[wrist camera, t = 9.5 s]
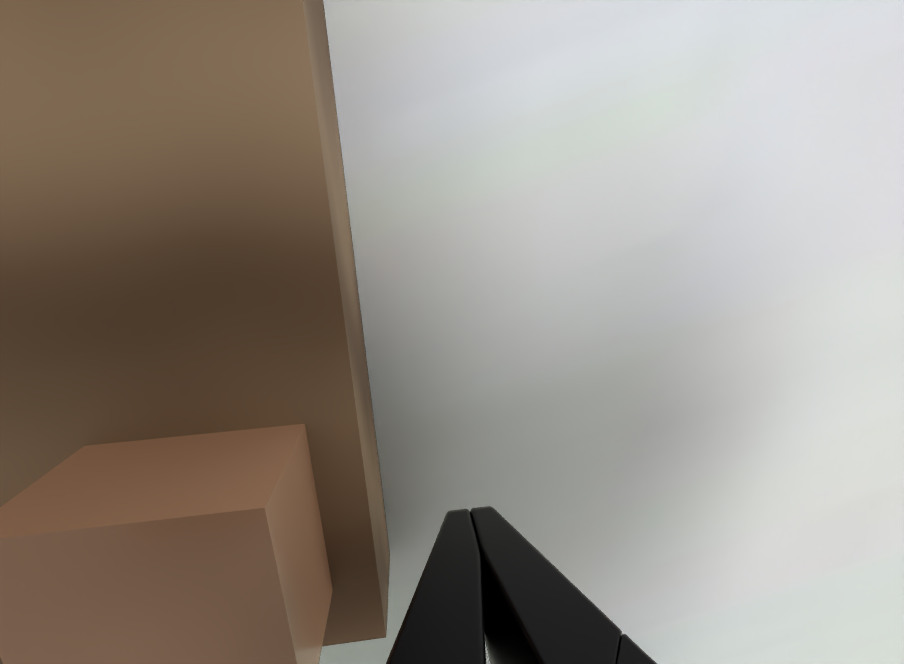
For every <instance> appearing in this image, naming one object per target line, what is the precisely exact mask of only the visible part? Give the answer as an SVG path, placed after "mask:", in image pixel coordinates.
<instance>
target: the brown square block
mask: <svg viewBox="0 0 904 664" xmlns="http://www.w3.org/2000/svg"><path fill="white" fill-rule="evenodd" d="M332 592H333V589H332V583H331V577H330V571H329V565H328V559H327V553H326V547H325V541H324V535H323V529H322V523H321V517H320V511H319V505H318V499H317V493H316V487H315V481H314V475H313V469H312V463H311V457H310V452H309V446H308V440H307V434H306V428H305V424H296V425H286V426H276V427H266V428H257V429H247V430H237V431H227V432H217V433H207V434H197V435H187V436H177V437H167V438H157V439H148V440H138V441H128V442H118V443H108V444H98V445H88V446H84V447H82V448H81V449H79V450H78V451H77V452H75V453H74V454H73V455H71V456H70V457H68V458H67V459H66V460H64V461H63V462H62V463H60V464H59V465H57V466H56V467H55V468H53V469H52V470H51V471H49V472H48V473H46V474H45V475H44V476H42V477H41V478H40V479H38V480H37V481H35V482H34V483H33V484H31V485H30V486H29V487H27V488H26V489H24V490H23V491H22V492H20V493H19V494H18V495H16V496H15V497H13V498H12V499H11V500H9V501H8V502H7V503H5V504H4V505H2V506H1V507H0V658H1V660H2V663H3V664H319V659H320V654H321V649H322V644H323V639H324V633H325V628H326V623H327V618H328V613H329V608H330V602H331V597H332Z"/></svg>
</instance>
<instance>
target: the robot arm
mask: <svg viewBox="0 0 904 664" xmlns="http://www.w3.org/2000/svg"><path fill="white" fill-rule="evenodd" d="M485 641H486V646H487V650H488V654H489V659H490V662H491V664H657V663H656V662H655V661H654V660H652V659H651V658H650V657H649V656H648V655H647V654H646V653H645V652H644V651H643V650H642V649H641V648H640V647H638V646H637V645H636V644H635V643H634V642H633V641H632V640H631V639H630V638H629V637H628V636H627V635H626V634H623V635H622V631H621V630H620V629H619V628H618V627H617V626H616V625H615V624H614V623H613V622H612V621H611V620H610V619H609V618H608V617H607V616H606V615H605V614H604V613H603V612H602V611H601V610H599V609H598V608H597V607H596V606H595V605H594V604H593V603H592V602H591V601H590V600H589V599H588V598H587V597H586V596H585V595H584V594H583V593H582V592H581V591H580V590H579V589H578V588H576V587H575V586H574V585H573V584H572V583H571V582H570V581H569V580H568V579H567V578H566V577H565V576H564V575H563V574H562V573H561V572H560V571H559V570H558V569H557V568H556V567H555V566H553V565H552V564H551V563H550V562H549V561H548V560H547V559H546V558H545V557H544V556H543V555H542V554H541V553H540V552H539V551H538V550H537V549H536V548H535V547H534V546H533V545H531V544H530V543H529V542H528V541H527V540H526V539H525V538H524V537H523V536H522V535H521V534H520V533H519V532H518V531H517V530H516V529H515V528H514V527H513V526H512V525H511V524H510V523H508V522H507V521H506V520H505V519H504V518H503V517H502V516H501V515H500V514H499V513H498V512H497V511H496V510H495V509H494V508H493V507H490V506H487V507H478V508H472V509H471V511H469V510H468V509H460V510H451V511H448V512H447V514H446V516H445V519H444V521H443V524H442V526H441V529H440V531H439V534H438V536H437V538H436V541H435V543H434V546H433V548H432V551H431V553H430V556H429V558H428V561H427V563H426V566H425V568H424V571H423V573H422V576H421V578H420V581H419V583H418V586H417V588H416V591H415V593H414V595H413V598H412V600H411V603H410V605H409V608H408V610H407V613H406V615H405V618H404V620H403V623H402V625H401V628H400V630H399V633H398V635H397V638H396V640H395V643H394V645H393V648H392V650H391V652H390V655H389V657H388V660H387V662H386V664H486V653H485Z"/></svg>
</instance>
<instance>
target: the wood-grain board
mask: <svg viewBox="0 0 904 664" xmlns="http://www.w3.org/2000/svg"><path fill="white" fill-rule="evenodd" d="M296 424H305V428H306V434H307V440H308V446H309V452H310V457H311V463H312V469H313V475H314V481H315V487H316V493H317V499H318V505H319V511H320V517H321V523H322V529H323V535H324V541H325V547H326V553H327V559H328V565H329V571H330V577H331V583H332V589H333V592H332V597H331V602H330V608H329V613H328V618H327V623H326V628H325V633H324V639H323V644H322V646H328V645H335V644H342V643H349V642H356V641H363V640H370V639H377V638H385V637H386V630H387V609H388V587H389V566H390V551H389V543H388V534H387V526H386V518H385V510H384V501H383V493H382V485H381V476H380V468H379V460H378V452H377V443H376V435H375V427H374V419H373V410H372V402H371V394H370V385H369V377H368V369H367V361H366V352H365V344H364V336H363V327H362V319H361V311H360V303H359V294H358V286H357V278H356V270H355V261H354V253H353V245H352V236H351V228H350V220H349V212H348V203H347V195H346V187H345V179H344V170H343V162H342V154H341V145H340V137H339V129H338V121H337V112H336V104H335V96H334V87H333V79H332V71H331V63H330V54H329V46H328V38H327V30H326V21H325V13H324V5H323V0H0V507H1V506H2V505H4V504H5V503H7V502H8V501H9V500H11V499H12V498H13V497H15V496H16V495H18V494H19V493H20V492H22V491H23V490H24V489H26V488H27V487H29V486H30V485H31V484H33V483H34V482H35V481H37V480H38V479H40V478H41V477H42V476H44V475H45V474H46V473H48V472H49V471H51V470H52V469H53V468H55V467H56V466H57V465H59V464H60V463H62V462H63V461H64V460H66V459H67V458H68V457H70V456H71V455H73V454H74V453H75V452H77V451H78V450H79V449H81V448H82V447H84V446H88V445H98V444H108V443H118V442H128V441H138V440H148V439H157V438H167V437H177V436H187V435H197V434H207V433H217V432H227V431H237V430H247V429H257V428H266V427H276V426H286V425H296ZM0 664H3V663H2V660H1V658H0Z"/></svg>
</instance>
